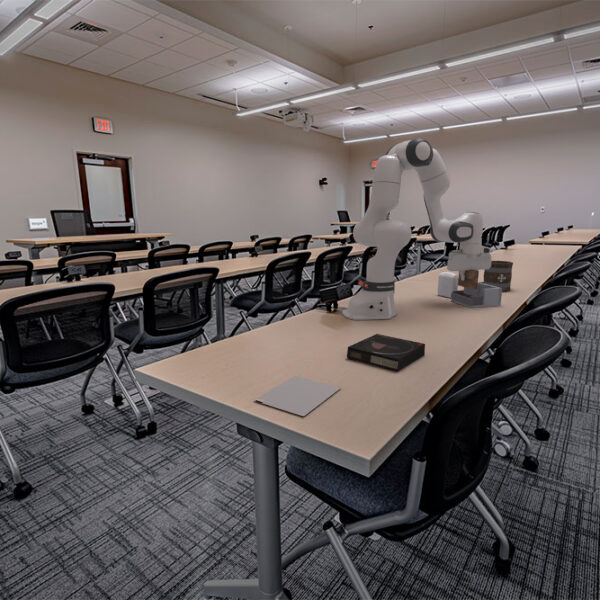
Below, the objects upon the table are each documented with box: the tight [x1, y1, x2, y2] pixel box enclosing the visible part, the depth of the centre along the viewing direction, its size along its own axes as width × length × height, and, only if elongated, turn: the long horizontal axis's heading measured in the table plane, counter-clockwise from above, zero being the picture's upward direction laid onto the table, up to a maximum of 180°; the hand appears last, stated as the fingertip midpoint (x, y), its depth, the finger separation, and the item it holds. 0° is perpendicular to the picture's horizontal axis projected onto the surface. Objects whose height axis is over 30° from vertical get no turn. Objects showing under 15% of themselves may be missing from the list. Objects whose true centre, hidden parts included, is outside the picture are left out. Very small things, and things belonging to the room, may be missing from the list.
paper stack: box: [257, 375, 342, 417], centre depth 102 cm, size 23×25×1 cm
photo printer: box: [437, 271, 459, 299], centre depth 199 cm, size 10×4×12 cm, turn 28°
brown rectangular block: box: [458, 270, 480, 289], centre depth 182 cm, size 3×10×8 cm, turn 13°
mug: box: [478, 260, 514, 294], centre depth 214 cm, size 20×14×15 cm
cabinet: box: [450, 282, 503, 309], centre depth 184 cm, size 15×15×8 cm
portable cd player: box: [346, 333, 426, 373], centre depth 120 cm, size 16×17×4 cm
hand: (468, 280), depth 182 cm, fingers closed on brown rectangular block, 3 cm apart
